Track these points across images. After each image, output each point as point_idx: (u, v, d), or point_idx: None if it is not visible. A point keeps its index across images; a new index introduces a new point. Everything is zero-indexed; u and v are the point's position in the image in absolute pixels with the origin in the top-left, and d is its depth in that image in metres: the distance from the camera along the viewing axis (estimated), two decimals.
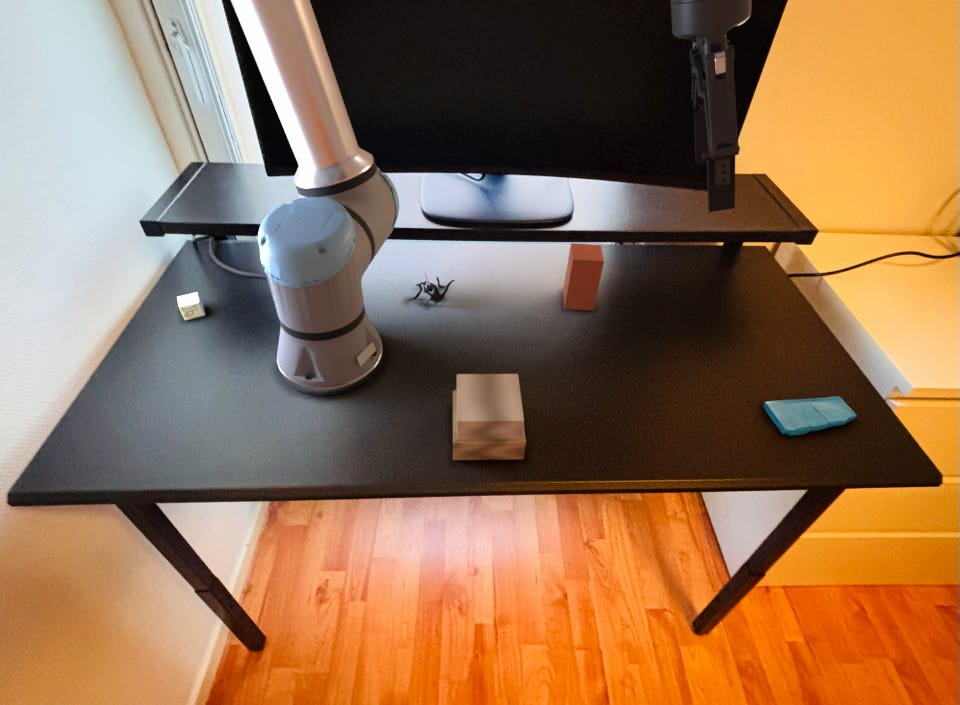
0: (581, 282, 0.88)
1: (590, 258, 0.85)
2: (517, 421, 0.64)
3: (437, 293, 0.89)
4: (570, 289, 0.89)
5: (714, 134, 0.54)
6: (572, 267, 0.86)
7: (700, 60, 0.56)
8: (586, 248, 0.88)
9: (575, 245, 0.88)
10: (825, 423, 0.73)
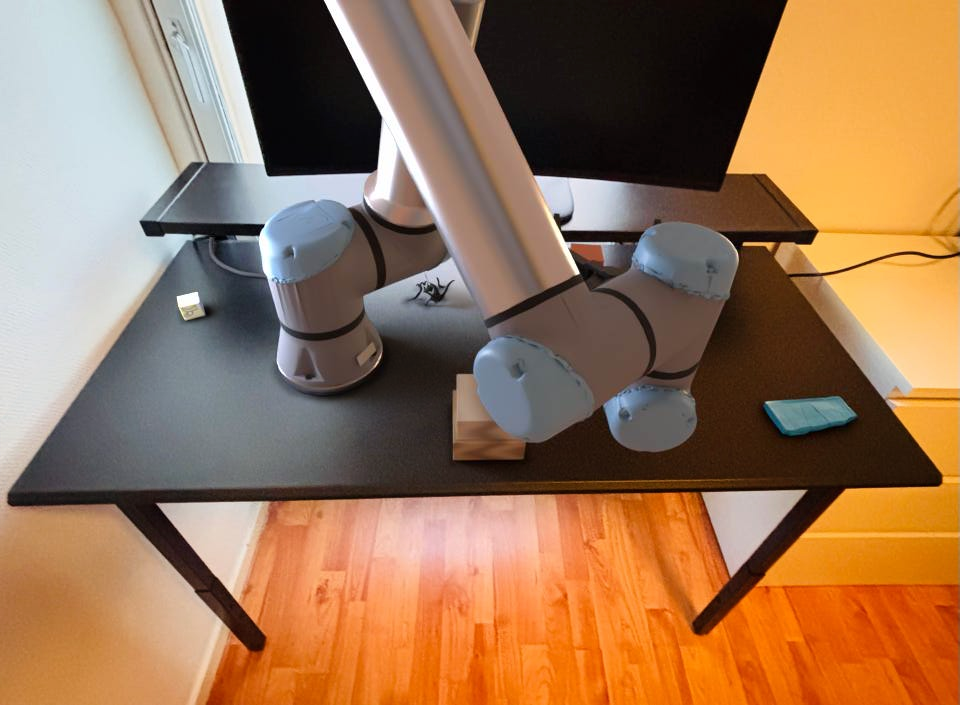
0: None
1: (590, 258, 0.85)
2: None
3: (437, 293, 0.89)
4: None
5: None
6: None
7: (605, 277, 0.61)
8: (586, 248, 0.88)
9: (575, 245, 0.88)
10: (824, 423, 0.73)
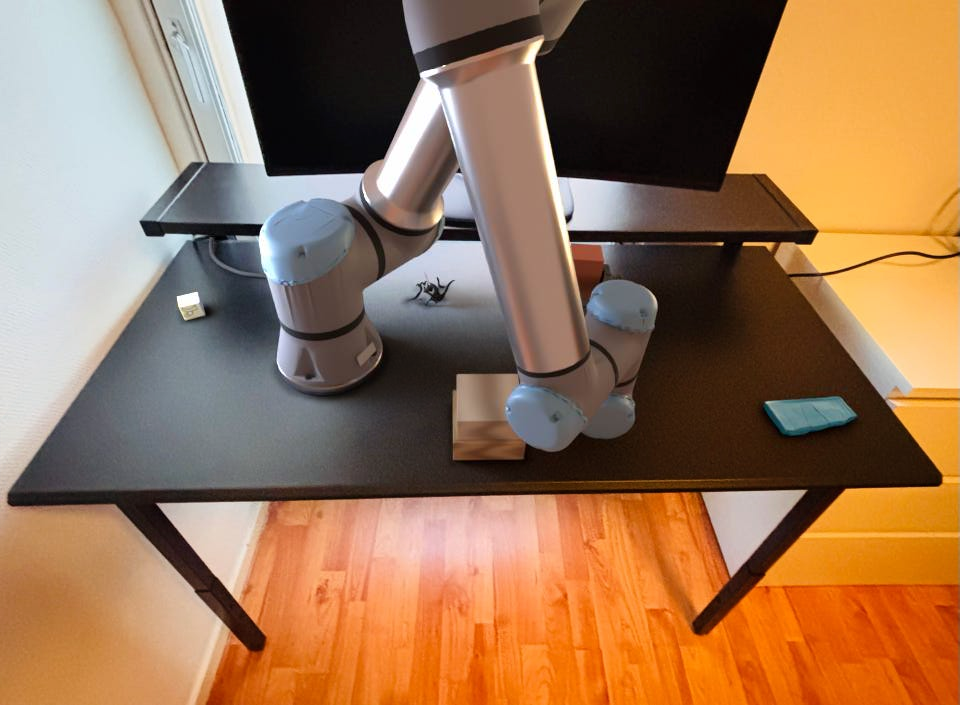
0: (581, 282, 0.88)
1: (590, 258, 0.85)
2: None
3: (437, 293, 0.89)
4: None
5: None
6: None
7: None
8: (586, 248, 0.88)
9: (575, 245, 0.88)
10: (824, 423, 0.73)
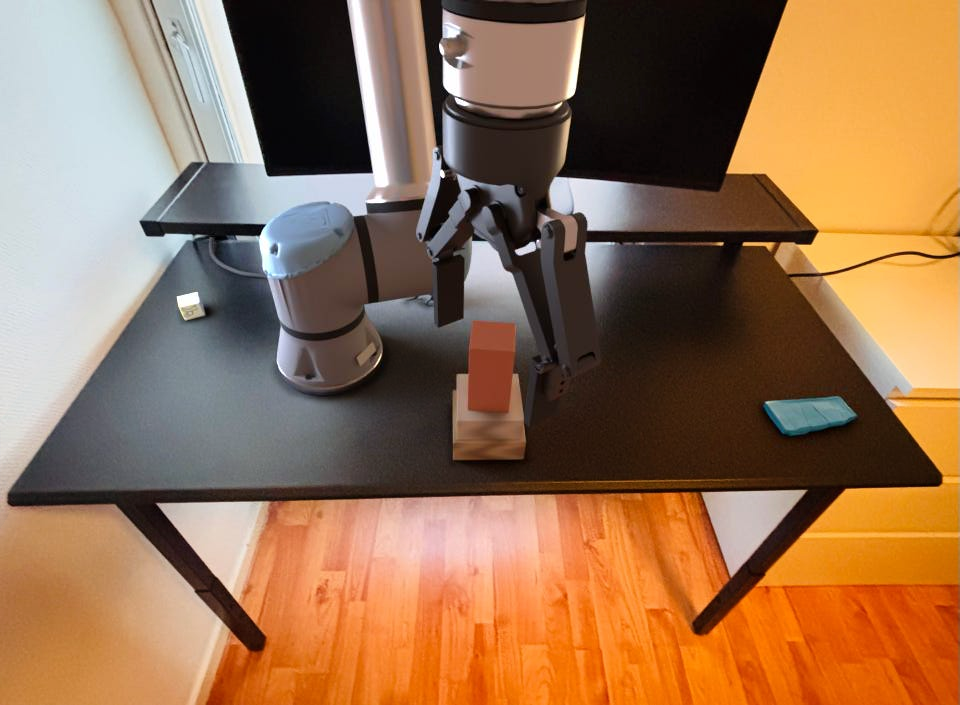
0: (485, 378, 0.61)
1: (494, 346, 0.58)
2: (517, 421, 0.64)
3: None
4: (471, 386, 0.62)
5: None
6: (470, 359, 0.59)
7: None
8: (493, 329, 0.60)
9: (478, 324, 0.61)
10: (824, 423, 0.73)
